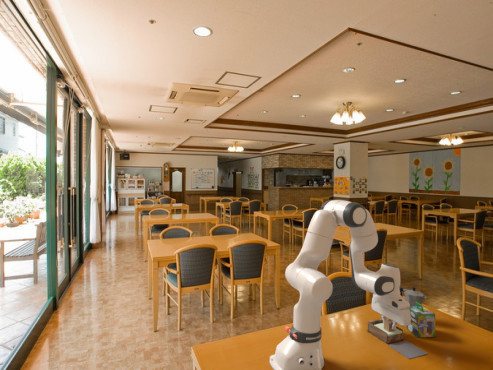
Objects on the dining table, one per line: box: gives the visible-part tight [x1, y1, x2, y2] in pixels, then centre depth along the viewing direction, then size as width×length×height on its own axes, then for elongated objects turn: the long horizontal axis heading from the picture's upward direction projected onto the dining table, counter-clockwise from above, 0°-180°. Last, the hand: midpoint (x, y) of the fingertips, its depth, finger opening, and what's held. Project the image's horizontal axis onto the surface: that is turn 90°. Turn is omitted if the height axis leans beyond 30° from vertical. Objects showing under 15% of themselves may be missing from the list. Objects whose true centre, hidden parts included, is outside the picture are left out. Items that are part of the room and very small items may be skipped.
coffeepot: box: [399, 286, 428, 307], centre depth 160 cm, size 15×9×18 cm, turn 29°
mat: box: [387, 340, 429, 360], centre depth 131 cm, size 11×11×1 cm
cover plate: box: [375, 318, 402, 336], centre depth 142 cm, size 9×10×5 cm
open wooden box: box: [367, 318, 404, 345], centre depth 143 cm, size 10×12×5 cm
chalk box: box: [406, 302, 437, 339], centre depth 146 cm, size 9×9×15 cm
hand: (389, 326), depth 141 cm, fingers open, 3 cm apart
